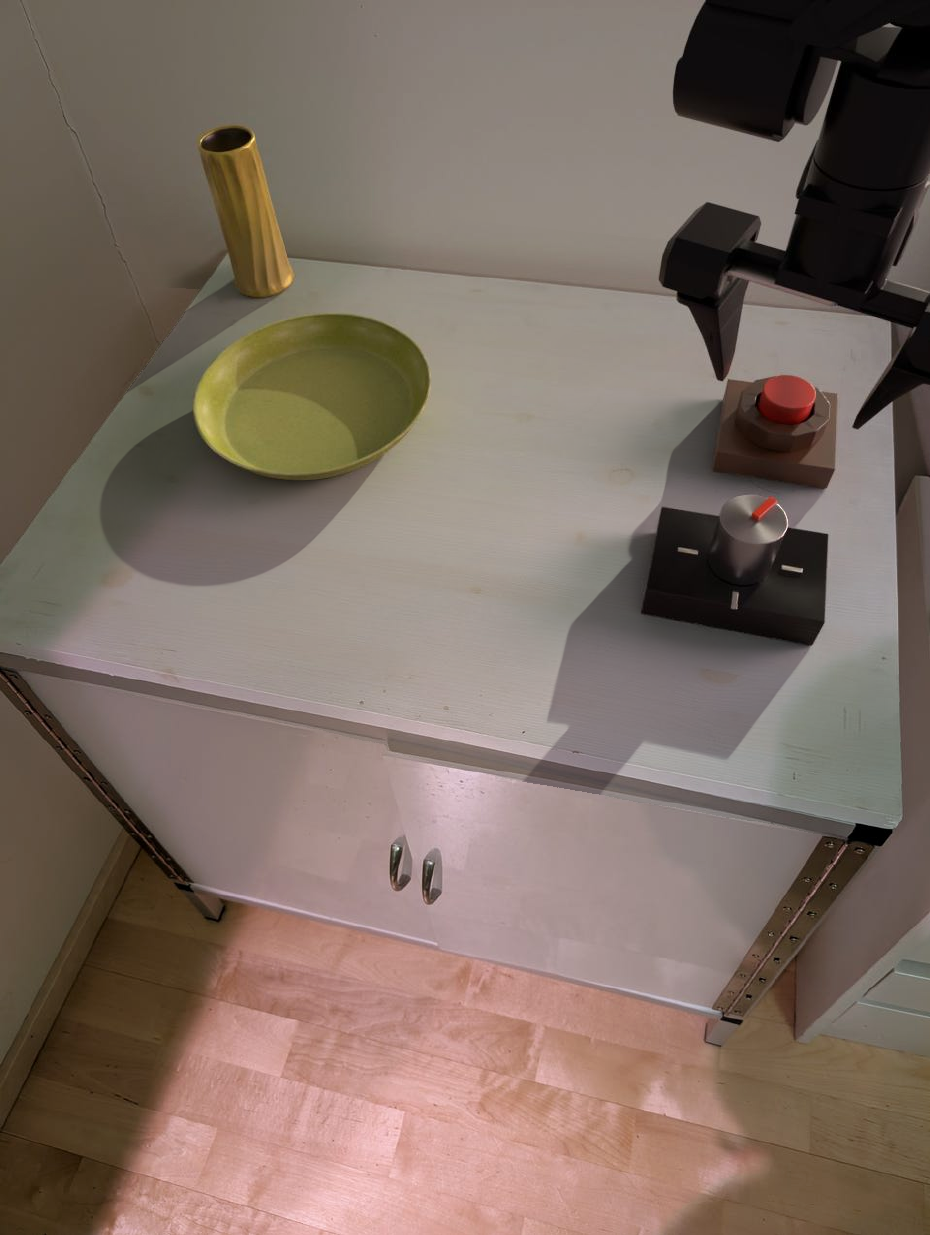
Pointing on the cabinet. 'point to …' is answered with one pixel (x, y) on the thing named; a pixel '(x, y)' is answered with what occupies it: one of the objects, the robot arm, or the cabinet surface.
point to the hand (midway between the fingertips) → (787, 400)
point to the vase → (245, 210)
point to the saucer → (312, 395)
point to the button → (787, 399)
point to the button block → (775, 439)
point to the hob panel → (765, 608)
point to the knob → (747, 539)
